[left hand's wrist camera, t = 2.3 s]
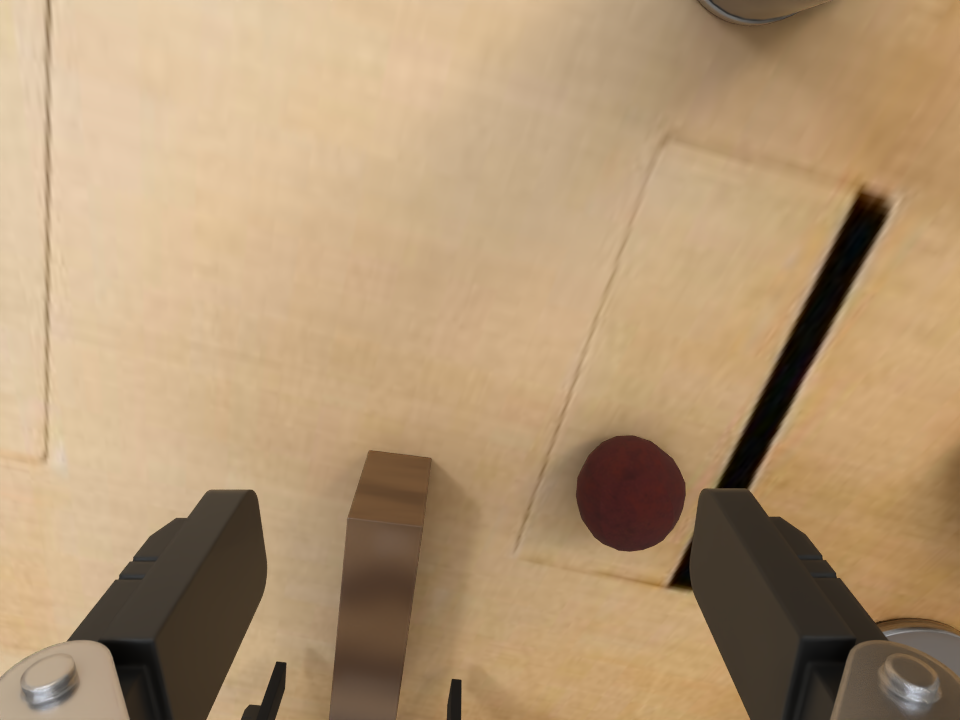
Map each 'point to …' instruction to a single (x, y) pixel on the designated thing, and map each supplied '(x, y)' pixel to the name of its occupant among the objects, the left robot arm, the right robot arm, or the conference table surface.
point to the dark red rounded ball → (630, 493)
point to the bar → (378, 586)
